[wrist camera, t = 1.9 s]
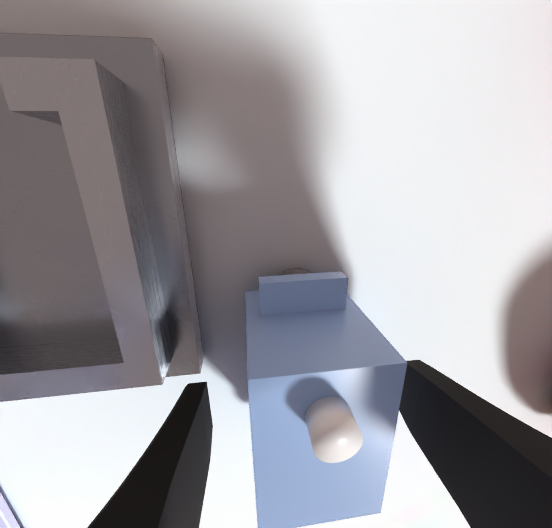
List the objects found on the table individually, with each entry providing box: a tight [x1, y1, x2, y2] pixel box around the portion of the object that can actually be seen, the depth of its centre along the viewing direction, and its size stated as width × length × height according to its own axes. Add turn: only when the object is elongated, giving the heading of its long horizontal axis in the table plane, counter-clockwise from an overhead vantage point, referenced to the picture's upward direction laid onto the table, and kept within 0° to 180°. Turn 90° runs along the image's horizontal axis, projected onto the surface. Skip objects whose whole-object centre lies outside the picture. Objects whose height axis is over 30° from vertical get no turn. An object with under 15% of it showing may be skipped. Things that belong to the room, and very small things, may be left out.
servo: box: [245, 268, 407, 528], centre depth 9 cm, size 8×4×6 cm, turn 1°
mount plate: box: [0, 33, 204, 402], centre depth 8 cm, size 11×9×2 cm
